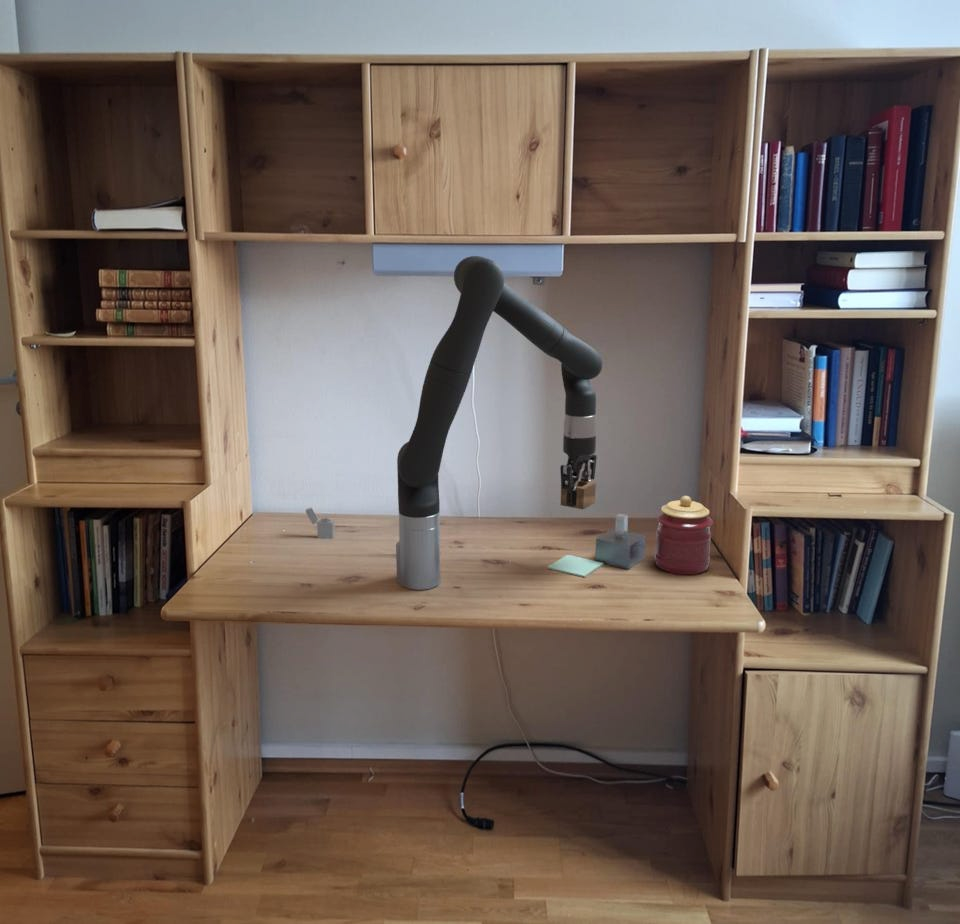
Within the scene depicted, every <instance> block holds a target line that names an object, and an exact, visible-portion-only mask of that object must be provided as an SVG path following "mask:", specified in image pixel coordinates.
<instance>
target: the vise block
mask: <svg viewBox="0 0 960 924" xmlns="http://www.w3.org/2000/svg"><path fill="white" fill-rule="evenodd" d="M628 524H629V515H628V514H625V513H624V514H623V513H618V514H616V515H615V528H611V529H609V530H608V531H606V532H604V533H603V534H601V535H600V536H598V537H596V538H595V560H594V561H597V562H602V563H604V565H609V566H612V567H617V568H621V569H626V570H630V569H632V568H633V567H635V566H636V565H637V564H639V563H640V562H642V561H643V560H644V559H645V552H646V551H645V550H646V535H645V534H642V533H637V532H636V533H635V532H631V531H628Z"/></svg>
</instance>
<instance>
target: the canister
mask: <svg viewBox="0 0 960 924" xmlns="http://www.w3.org/2000/svg"><path fill="white" fill-rule="evenodd" d="M660 510H661V513H659V514H658V515H657V517H656V519H657V522H658V528H656V530H655V531H656V532H655V533H656V546H655V553H654V561H655V566H656V567H657V568H659V569H660V570H662V571H664V572H668V573H672V574H675V575H688V576H689V575H698V574H702V573H705V572H706V571H707V570H708V569H709V565H710V560H711V558H710V551H711V538H712V533H711V531H710V530H711V526H712V525H713V523H714V522H713V519H712V518H711V517H710V516H709V515H710V509H708V508H707V507H705V506H704V505H703V504H702V503H701V502H697V501H694V500H692V498H691V497H690V496H688V495H683V496H681V497H680V499H679V500H673V501H668V503H666V504H664V505H663V506H661V509H660Z"/></svg>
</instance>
